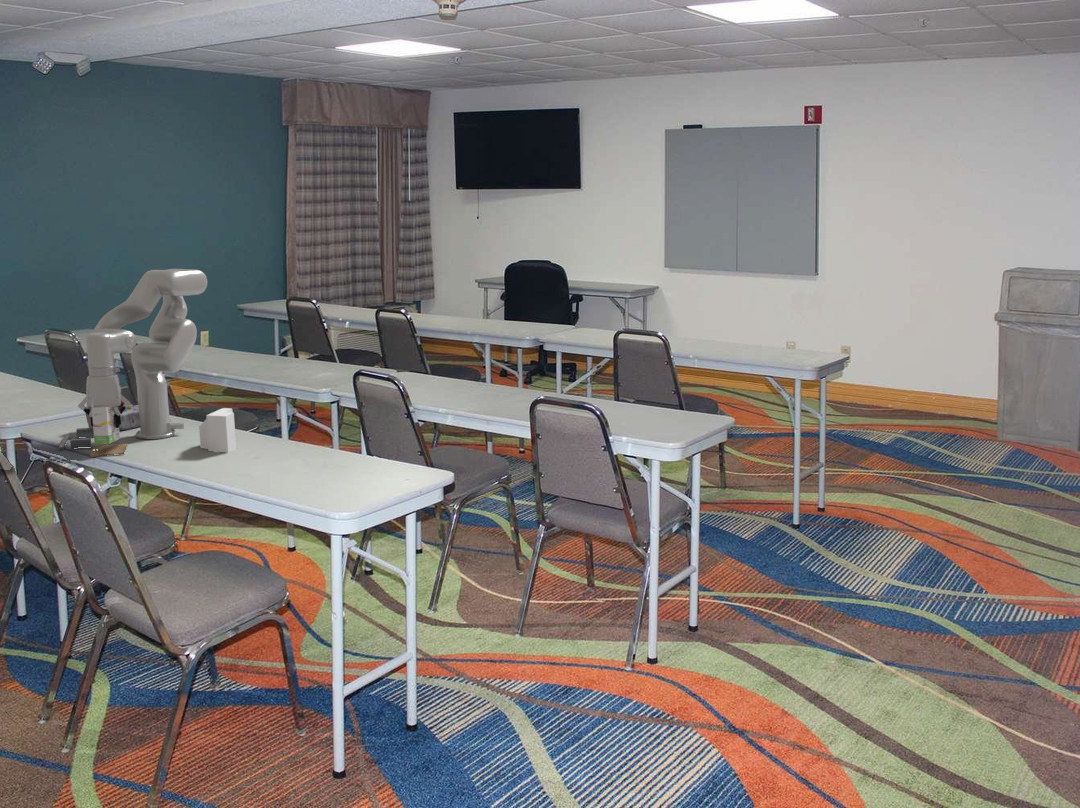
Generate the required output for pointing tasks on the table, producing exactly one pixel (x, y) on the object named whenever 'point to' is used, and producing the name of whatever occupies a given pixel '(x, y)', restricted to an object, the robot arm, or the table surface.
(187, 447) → the table surface
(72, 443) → the vise jaws
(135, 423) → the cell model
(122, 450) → the walnut board
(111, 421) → the ink box
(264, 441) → the table surface
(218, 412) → the white chunky block
